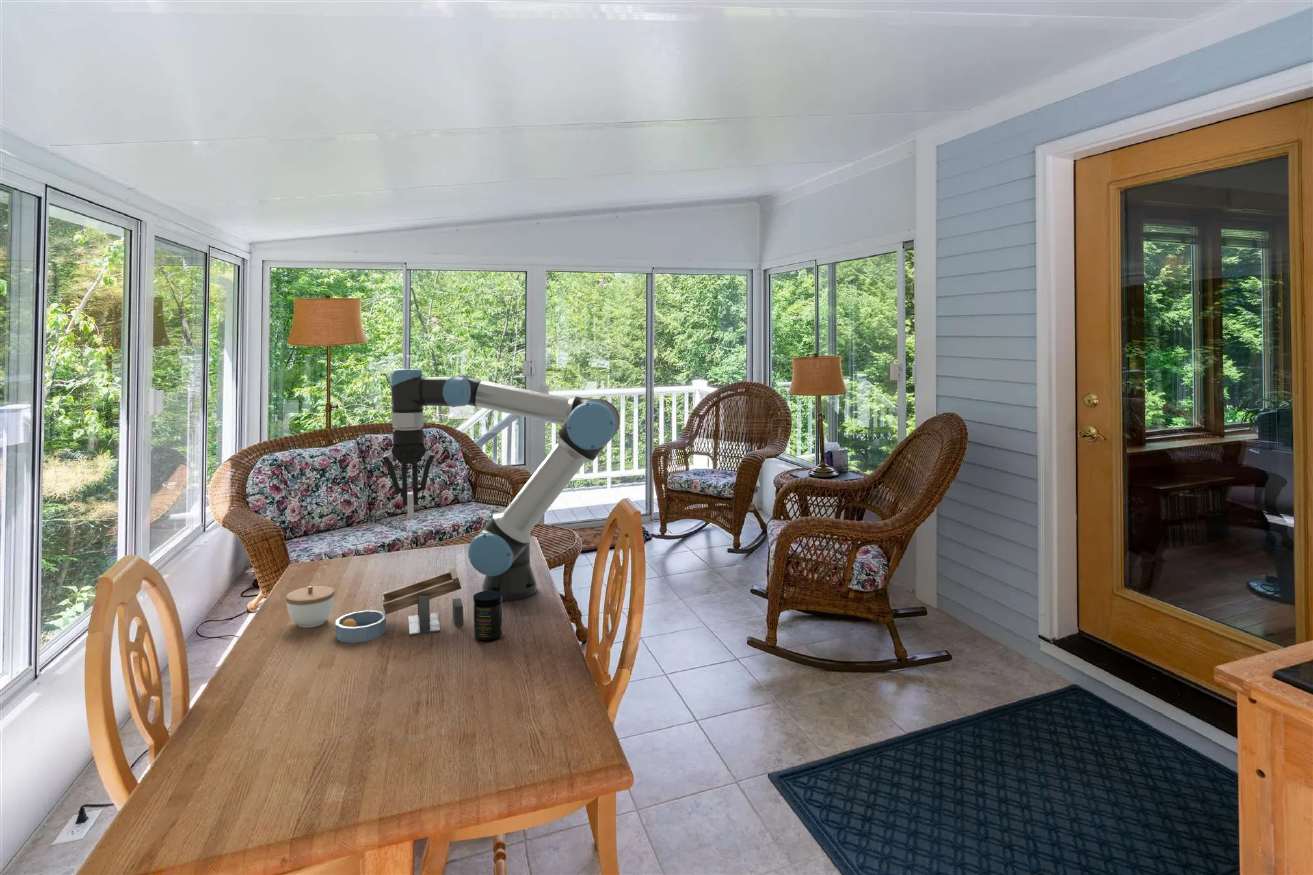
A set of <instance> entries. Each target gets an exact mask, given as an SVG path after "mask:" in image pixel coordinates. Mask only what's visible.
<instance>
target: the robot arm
mask: <svg viewBox="0 0 1313 875" xmlns="http://www.w3.org/2000/svg"><path fill="white" fill-rule="evenodd" d="M390 379H391V380H390V381H391V383H390V384H391V385H390V390H391V408H392V409H391V412H392V413H391V417H392V428H394V429H393V430H392V444H393V445H392V448H391V451H390V452H389V453H387V454H384V455H383V456H382V460H383V462H384V463H385V464H386V465H387V469H388V472H389V475H390V478H391V481H392V486H393V488H394V491H395V492H396V493H400V494H401V495H402V496H401V497H402V505H403V507H407V519H408V520H411V519H415V509H414V508H415V507H414V506H418V505H419V493H420V492H422V491H425V490H426V486H427V481H428V477H429V472H430V468H431V466H432V465H431V464H432V463H433V461H434V460H435V458H436V457H435V454H434V453H432V452H430V451H427V448H426V446H425V438H424V437H425V435H424V429H423V427H424V406H425V407H428V406H431V407H432V406H433V407H452V408H455V407H466V406H470V407H476V408H477V407H478V408H483V409H486V410H487V409H488V410H490V411H491V410H492V411H497V412H501V413H506V414H509V415H510V414H511V415H515V416H519V417H524V418H528V419H533V420H537V421H542V422H545V423H551V424H556V425H560V426H562V427H561V428H560V429H559V430H558V432H557V443H556V444H555V445H554V447H553V448H552V449H551V450H550V451H549V453H548V454H547V456H546V457H545V459H543V461H542V462H541V464H539V466H538V467H537V468H536V470H535V471H534V473H533V474H532V475H531V476H530V478H529V479H528V480H527V481H526V483H525V484H524V486H523V487H522V488H521V489H520V490H519V492H518V493H517V494H516V495H515V497H514V498H513V499H512V501H511V502H510V503H509V504H508V505H507V507H506V508H505V509H504V511H499V512H497V511H496V512H492V513H489V514H488V516H487V520H486V525H485V526H484V527H483V528H482V530H481V531H480V532H479V533H478V534H476V535H475V536H474V537H473V538H472V539H471V542H470V544H469V546H468V550H467V556H468V561H469V563H470V565H471V566H472V567H473V569H474V570H475V571H477V572H478V573H480V574H481V575H484V579H483V583H482V588H481V589H482V590H481V592H482V591H498V592H501V593H502V602H503V601H507V602H508V601H517V600H522V599H526V598H529V597H531V596H533V595H534V594H535V593H536V592H537V581H536V578H535V575H534V572H533V569H532V565H531V539H532V537H531V531H532V530H533V529H534V528H535V526H536V525H537V523H538V522H539V521H540V520H541V519H542V517H543V516H544V515H545V514H546V512H547V511H548V509H549V508H550V507H551V506H552V504H553V503H554V502H555V500H557V498H558V497H559V495H560V494H562V492H563V490H565V488H566V487H567V486H568V484H569V483H570V481H572V479H573V478H574V476H575V475H576V474H577V473H578V471H579V470H580V469H581V467H582V466H583V465H584V464H585V463H589V462H593V461H594V460H596V458H597V457H598V456H599V454H600V453H601V452H602V451H603V449H604V448H605V447H606V446H607V444H608V443H609V442H610V441H611V440H612V438H613V437H614V436H615V435H616V433H617V432H618V430H619V428H620V423H621V422H620V420H621V419H620V414H619V411H618V410H617V408H616V407H615V405H614V404H612V403H611V402H609V401H608V400H605V399H603V398H587V397H580V396H576V395H575V396H573V397H572V398H568V397H563V396H559V395H553V394H550V393H549V394H548V393H545V392H540V391H535V390H529V389H525V388H520V387H516V386H511V385H507V384H502V383H497V382H493V381H488V380H482V379H479V378H475V377H472V376H469V375H465V374H464V375H457V376H424V374H423V370H421V369H419V368H395V369H393V370H392V372H391V378H390ZM424 456H425V457H424ZM423 457H424V460H425V463H424V466H423V471H422V475H421V479H420V485H418V484H419V482H418V463H419V462H420V461H421V460H422V458H423ZM394 458H395V459H396V460H397V462H399V464H401V486H400V484H399V481H398V477H397V474H396V471H395V467H394V464H393V461H394ZM408 464H409V465H411V473H412V474H411V476H412V479H411V481H412V482H411V483H412V491H410V492H409V491H408V470H407V468H408V467H407V466H408ZM530 595H531V596H530Z"/></svg>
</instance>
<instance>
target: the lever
mask: <svg viewBox="0 0 1313 875" xmlns="http://www.w3.org/2000/svg"><path fill="white" fill-rule="evenodd" d="M459 590H462V585H461V581H460V579H459V576H458V573H457V569H456V568H451V569H449V571H447V572H444V573H440V574H438V575H435V576H432V577H429V578H426V579H422V580H420V581H417V582H413V583H411V584H408V585H405V586H399V587H397V588H394V589H391V590H387V591H385V592H382V602H383V603H382V607H383V610H384V613H385V614H386V615H388V614H391V613H395V612H398V611H400V610H404V609H407V608H410V607H412V606H416V605H418V603H419V596H420V595H429V601H430V600H433V599H435V598H438V597H440V596H444V595H446V594H450V593H452V592H455V591H459Z"/></svg>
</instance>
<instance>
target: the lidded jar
mask: <svg viewBox="0 0 1313 875" xmlns="http://www.w3.org/2000/svg"><path fill="white" fill-rule="evenodd" d="M285 601H286V608H287V613H288V616H289V618H290V620H291V621H292V622H293V623H294V624H296V625H297V626H298V627H300V628H304V629H305V628H306V629H307V628H315V627H318V626H322V625H323V624H325V623H326V621H327V620H328V619H329V617H330V616H331V614H332V613H333V610H334V606H335V589H334V588H333V587H330V586H325V585H315V586H312V585H308V586H307V587H301V588H297V589H294V590H292V591H291V592H288V593H287V594H286V596H285Z"/></svg>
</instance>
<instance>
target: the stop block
mask: <svg viewBox="0 0 1313 875" xmlns="http://www.w3.org/2000/svg"><path fill="white" fill-rule="evenodd" d="M463 604H464V603H463V601H462V598H461V597H459V598H452V619H453V623H454V626H461V625H464V606H463Z"/></svg>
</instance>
